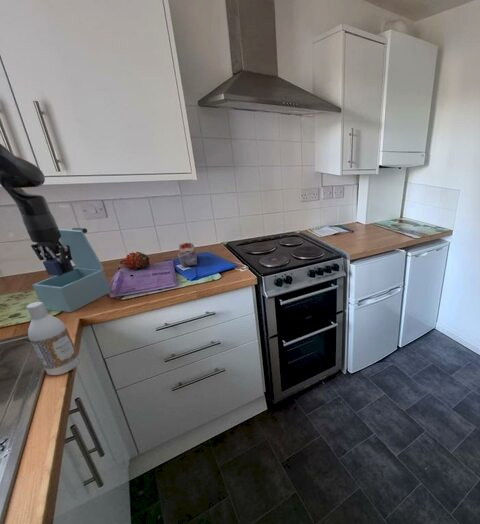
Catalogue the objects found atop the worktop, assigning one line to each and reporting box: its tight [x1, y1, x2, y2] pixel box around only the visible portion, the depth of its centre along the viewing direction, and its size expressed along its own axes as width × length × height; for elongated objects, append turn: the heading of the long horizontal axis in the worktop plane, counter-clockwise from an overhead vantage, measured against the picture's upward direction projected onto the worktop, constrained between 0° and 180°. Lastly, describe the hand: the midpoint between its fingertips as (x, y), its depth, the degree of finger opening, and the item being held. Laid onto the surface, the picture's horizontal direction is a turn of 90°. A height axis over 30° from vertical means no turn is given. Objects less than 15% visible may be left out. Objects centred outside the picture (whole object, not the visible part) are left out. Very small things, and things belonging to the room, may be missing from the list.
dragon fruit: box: [119, 251, 150, 271], centre depth 141 cm, size 8×8×12 cm
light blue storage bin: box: [32, 266, 112, 313], centre depth 113 cm, size 16×13×10 cm
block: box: [42, 257, 74, 276], centre depth 107 cm, size 5×5×5 cm
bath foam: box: [26, 301, 81, 376], centre depth 78 cm, size 7×7×20 cm
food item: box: [177, 242, 198, 267], centre depth 146 cm, size 14×8×10 cm, turn 31°
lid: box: [58, 227, 104, 270], centre depth 115 cm, size 16×13×5 cm
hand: (60, 271), depth 108 cm, fingers closed on block, 5 cm apart
